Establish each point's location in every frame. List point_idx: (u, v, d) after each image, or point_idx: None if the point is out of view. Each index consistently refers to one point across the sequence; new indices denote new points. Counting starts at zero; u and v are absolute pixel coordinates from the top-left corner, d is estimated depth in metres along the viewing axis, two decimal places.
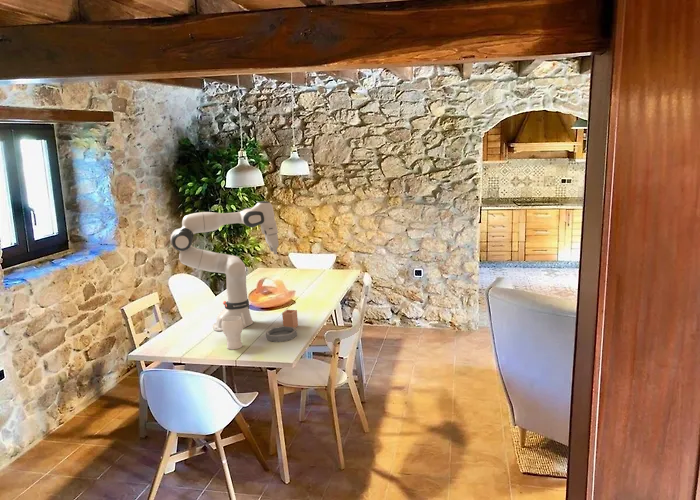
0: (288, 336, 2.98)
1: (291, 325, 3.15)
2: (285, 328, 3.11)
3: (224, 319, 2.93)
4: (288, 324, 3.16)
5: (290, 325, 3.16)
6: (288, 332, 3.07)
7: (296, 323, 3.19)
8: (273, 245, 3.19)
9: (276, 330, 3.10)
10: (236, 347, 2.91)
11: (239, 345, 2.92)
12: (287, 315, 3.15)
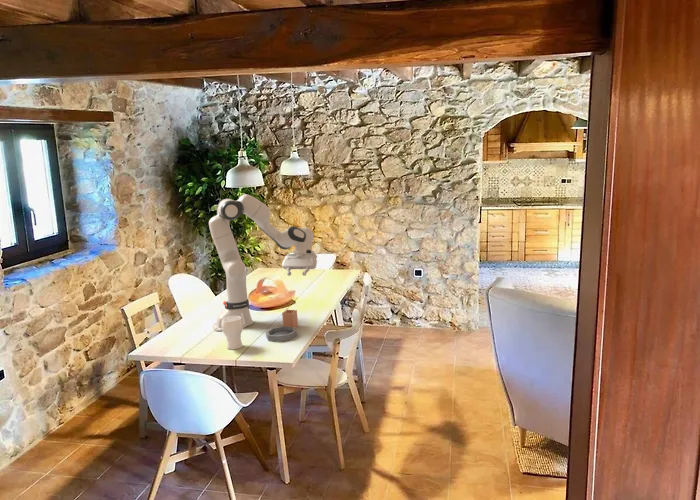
0: (288, 336, 2.98)
1: (291, 325, 3.15)
2: (285, 328, 3.11)
3: (224, 319, 2.93)
4: (288, 324, 3.16)
5: (290, 325, 3.16)
6: (288, 332, 3.07)
7: (296, 323, 3.19)
8: (314, 264, 3.24)
9: (276, 330, 3.10)
10: (236, 347, 2.91)
11: (239, 345, 2.92)
12: (287, 315, 3.15)
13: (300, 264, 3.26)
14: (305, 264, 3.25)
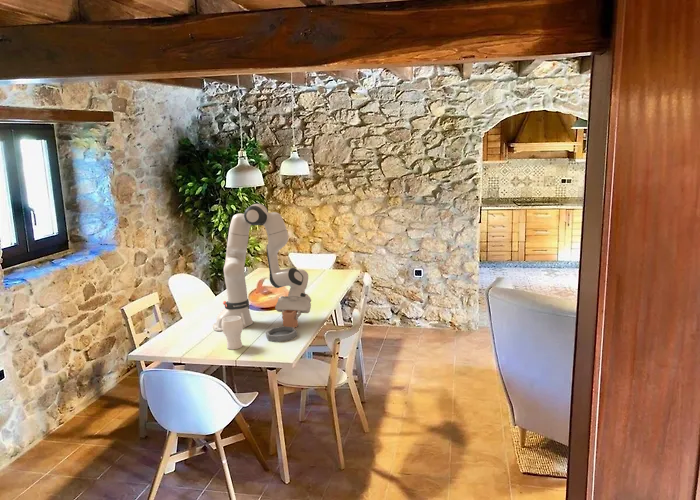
0: (288, 336, 2.98)
1: (291, 325, 3.15)
2: (285, 328, 3.11)
3: (224, 319, 2.93)
4: (288, 324, 3.16)
5: (290, 325, 3.15)
6: (288, 332, 3.07)
7: (296, 323, 3.19)
8: (308, 308, 3.16)
9: (276, 330, 3.10)
10: (236, 347, 2.91)
11: (239, 345, 2.92)
12: (287, 315, 3.15)
13: (294, 308, 3.19)
14: (299, 308, 3.17)
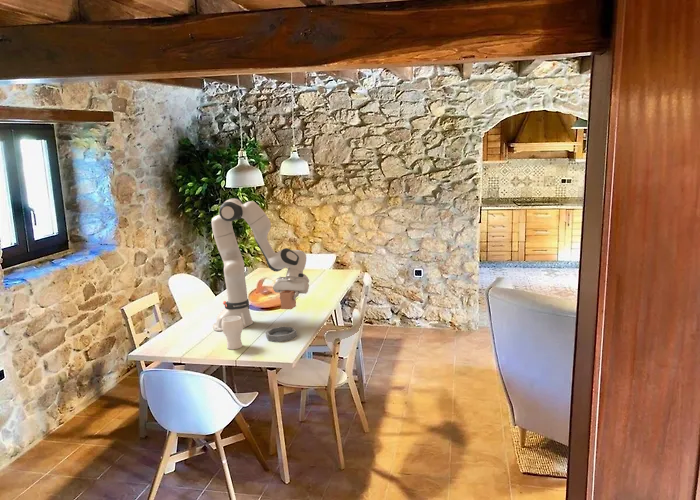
0: (288, 336, 2.98)
1: (289, 305, 3.13)
2: (285, 328, 3.11)
3: (224, 319, 2.93)
4: (286, 304, 3.13)
5: (288, 305, 3.13)
6: (288, 332, 3.07)
7: (294, 303, 3.16)
8: (306, 289, 3.14)
9: (276, 330, 3.10)
10: (236, 347, 2.91)
11: (239, 345, 2.92)
12: (284, 295, 3.12)
13: (291, 288, 3.16)
14: (297, 288, 3.15)
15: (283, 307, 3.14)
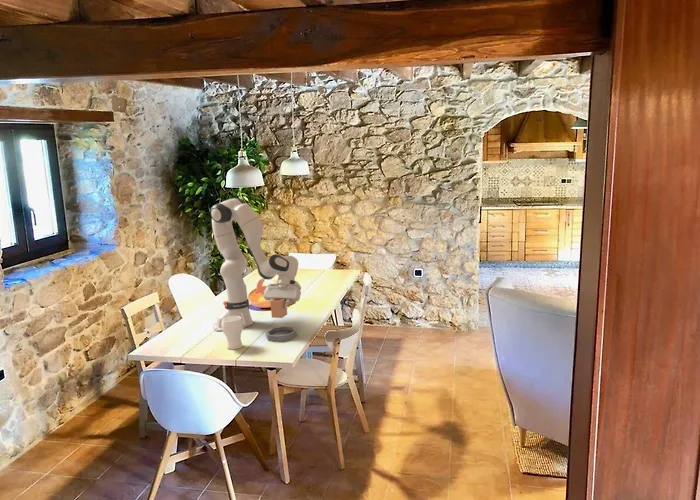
0: (288, 336, 2.98)
1: (280, 314, 2.99)
2: (285, 328, 3.11)
3: (224, 319, 2.93)
4: (277, 313, 2.99)
5: (279, 314, 2.99)
6: (288, 332, 3.07)
7: (285, 312, 3.02)
8: (297, 296, 3.00)
9: (276, 330, 3.10)
10: (236, 347, 2.91)
11: (239, 345, 2.92)
12: (275, 303, 2.98)
13: (282, 295, 3.02)
14: (288, 296, 3.01)
15: (274, 316, 3.00)
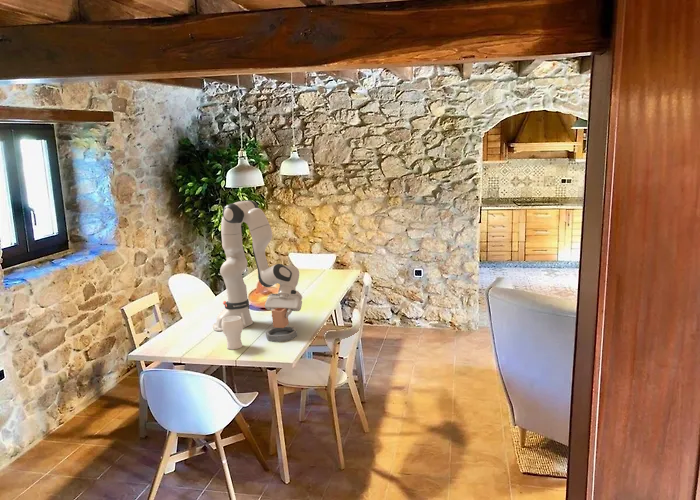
0: (288, 336, 2.98)
1: (281, 324, 3.00)
2: (285, 328, 3.11)
3: (224, 319, 2.93)
4: (278, 323, 3.00)
5: (280, 324, 3.00)
6: (288, 332, 3.07)
7: (286, 321, 3.03)
8: (298, 306, 3.01)
9: (276, 330, 3.10)
10: (236, 347, 2.91)
11: (239, 345, 2.92)
12: (276, 313, 2.99)
13: (284, 305, 3.03)
14: (289, 306, 3.02)
15: (275, 326, 3.01)
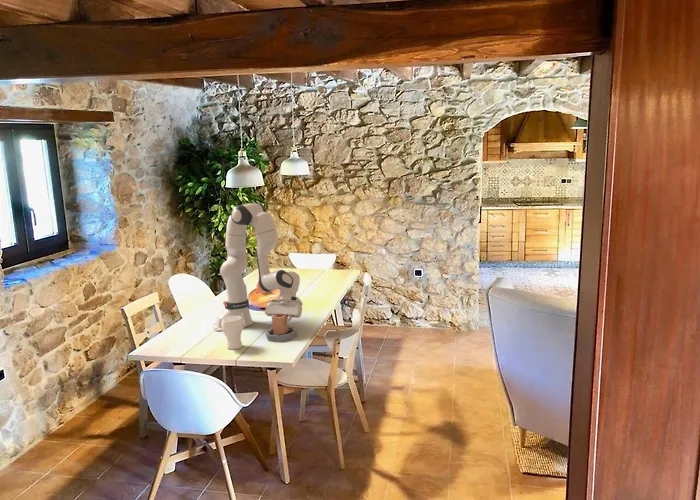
0: (288, 336, 2.98)
1: (281, 330, 3.00)
2: None
3: (224, 319, 2.93)
4: (278, 329, 3.01)
5: (280, 330, 3.01)
6: (288, 332, 3.07)
7: (286, 328, 3.04)
8: (299, 313, 3.01)
9: None
10: (236, 347, 2.91)
11: (239, 345, 2.92)
12: (276, 320, 3.00)
13: (284, 312, 3.04)
14: (289, 312, 3.02)
15: (275, 332, 3.02)
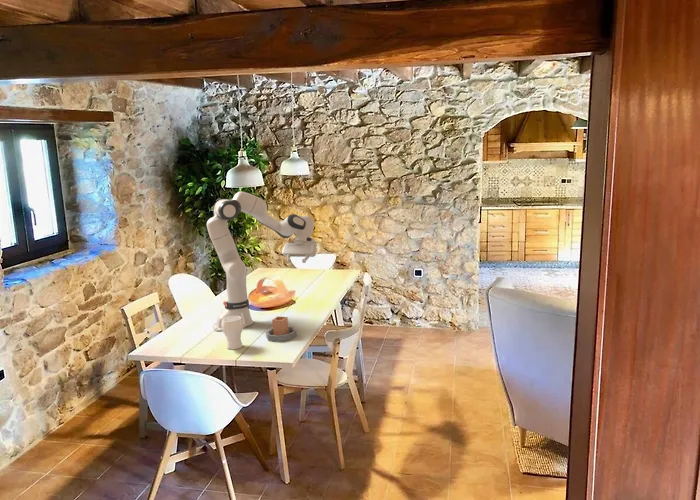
0: (288, 336, 2.98)
1: (281, 333, 3.01)
2: None
3: (224, 319, 2.93)
4: (278, 332, 3.01)
5: (280, 333, 3.01)
6: None
7: (287, 330, 3.04)
8: (314, 252, 3.25)
9: None
10: (236, 347, 2.91)
11: (239, 345, 2.92)
12: (277, 322, 3.00)
13: (300, 251, 3.27)
14: (305, 251, 3.26)
15: (276, 335, 3.02)
